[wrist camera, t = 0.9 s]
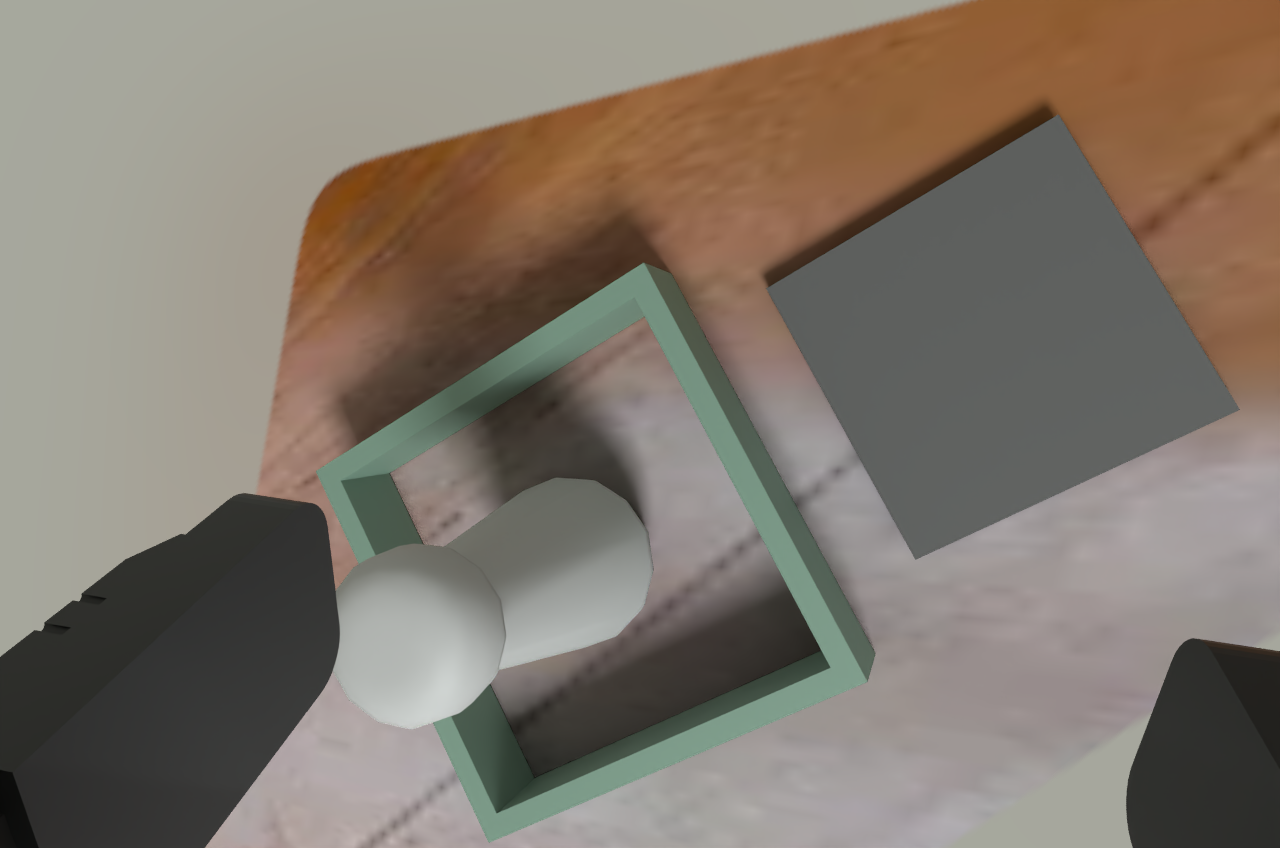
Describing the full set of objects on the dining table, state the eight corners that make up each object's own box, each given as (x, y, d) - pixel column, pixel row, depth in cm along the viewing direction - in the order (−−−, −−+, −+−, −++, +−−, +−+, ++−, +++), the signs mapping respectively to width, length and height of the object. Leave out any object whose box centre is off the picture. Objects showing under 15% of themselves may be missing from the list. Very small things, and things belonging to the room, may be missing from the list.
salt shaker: (590, 438, 33) (373, 469, 20) (704, 548, 31) (546, 652, 19) (496, 551, 34) (241, 643, 22) (602, 661, 33) (393, 824, 21)
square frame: (671, 273, 31) (643, 262, 29) (875, 653, 30) (867, 681, 27) (366, 464, 36) (315, 471, 33) (527, 804, 34) (488, 842, 31)
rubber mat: (1056, 120, 27) (1058, 114, 27) (1233, 409, 26) (1239, 409, 26) (769, 290, 30) (766, 288, 30) (916, 556, 29) (915, 559, 29)
